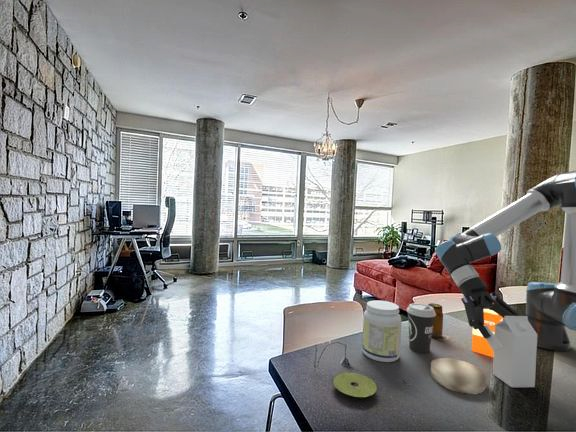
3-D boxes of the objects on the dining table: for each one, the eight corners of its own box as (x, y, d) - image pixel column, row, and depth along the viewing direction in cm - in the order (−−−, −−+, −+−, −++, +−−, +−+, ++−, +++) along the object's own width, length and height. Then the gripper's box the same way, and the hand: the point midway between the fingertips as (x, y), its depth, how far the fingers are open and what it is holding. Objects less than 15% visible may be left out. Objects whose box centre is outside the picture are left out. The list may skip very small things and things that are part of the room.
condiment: (429, 330, 126) (430, 301, 126) (451, 337, 119) (452, 306, 119) (420, 334, 121) (422, 304, 121) (442, 341, 115) (444, 310, 114)
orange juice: (501, 350, 109) (504, 294, 109) (497, 358, 103) (500, 299, 102) (476, 343, 114) (479, 290, 114) (471, 350, 108) (473, 294, 108)
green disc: (385, 400, 77) (385, 393, 77) (345, 407, 74) (345, 399, 74) (362, 377, 88) (362, 370, 88) (326, 381, 85) (326, 374, 85)
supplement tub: (369, 343, 111) (371, 297, 111) (404, 353, 104) (406, 304, 104) (356, 355, 101) (358, 305, 101) (393, 367, 94) (396, 313, 94)
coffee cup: (421, 357, 101) (423, 312, 101) (399, 345, 110) (400, 304, 110) (440, 352, 106) (442, 309, 106) (417, 341, 114) (419, 301, 114)
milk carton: (492, 374, 92) (495, 311, 92) (514, 374, 93) (517, 312, 92) (511, 388, 85) (514, 320, 85) (535, 387, 86) (538, 320, 85)
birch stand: (480, 374, 92) (481, 364, 92) (491, 399, 79) (491, 388, 79) (429, 363, 97) (430, 354, 97) (431, 386, 85) (431, 375, 85)
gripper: (486, 285, 109) (530, 345, 95) (434, 290, 100) (474, 356, 86) (502, 274, 104) (551, 335, 90) (448, 277, 95) (494, 346, 81)
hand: (513, 346), depth 88 cm, fingers open, 13 cm apart
